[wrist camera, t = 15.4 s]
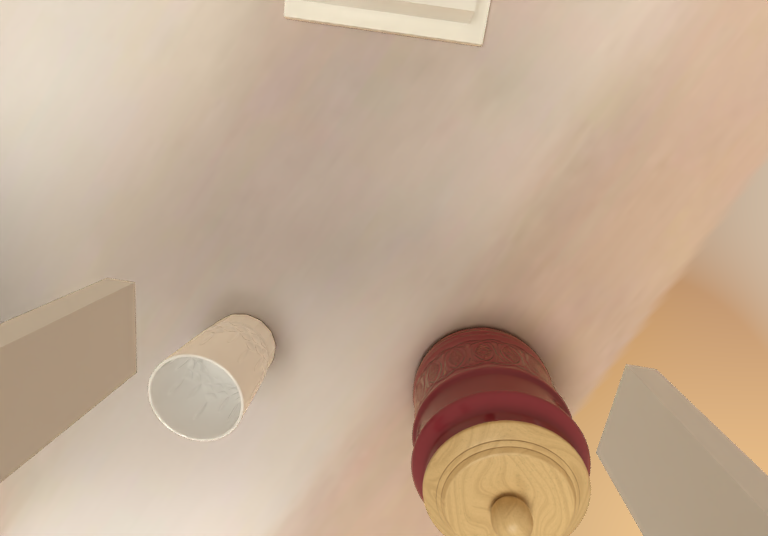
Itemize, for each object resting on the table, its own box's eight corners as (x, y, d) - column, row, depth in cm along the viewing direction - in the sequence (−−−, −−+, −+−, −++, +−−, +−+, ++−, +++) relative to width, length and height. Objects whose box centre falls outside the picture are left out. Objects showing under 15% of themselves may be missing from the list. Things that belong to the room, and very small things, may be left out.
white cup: (231, 292, 43) (177, 335, 33) (296, 339, 44) (262, 394, 34) (192, 348, 45) (130, 404, 35) (254, 392, 46) (211, 458, 36)
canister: (427, 312, 42) (432, 426, 25) (561, 337, 41) (660, 472, 24) (402, 426, 45) (392, 593, 28) (526, 450, 45) (589, 635, 28)
